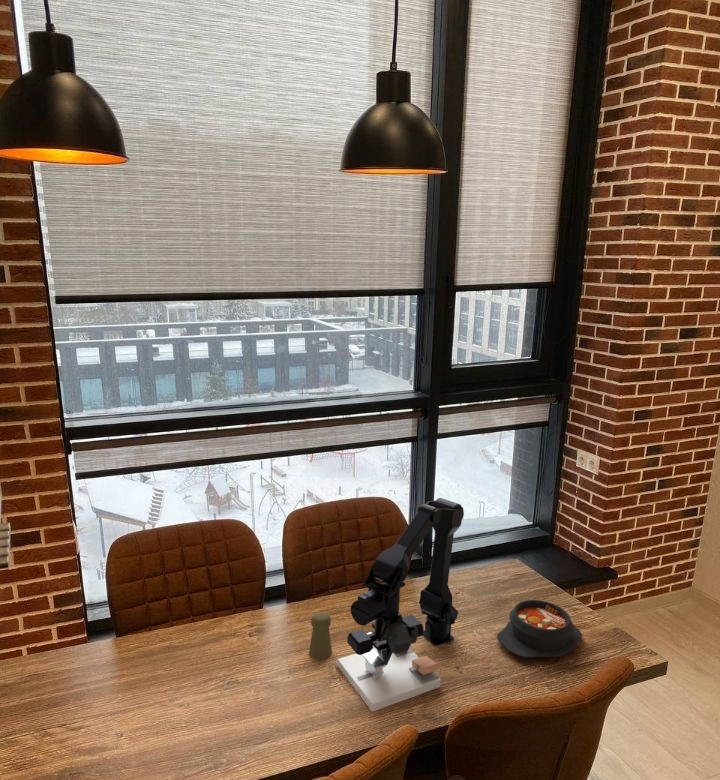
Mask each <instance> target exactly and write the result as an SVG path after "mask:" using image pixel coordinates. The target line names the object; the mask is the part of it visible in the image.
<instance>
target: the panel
mask: <svg viewBox="0 0 720 780" xmlns="http://www.w3.org/2000/svg"><path fill="white" fill-rule="evenodd" d="M371 651H374V652H375V653H376V654H377V655H378V656H379V654H378V651H377V649H376V648H375V647H373V649H372V650H371ZM371 651H370V652H371ZM379 658H380V657H379ZM417 658H420V657H419V656H418V655H417V654H416V653H415V652H414V651H413V649H412V648H411V647H410V648H409V650H407V651H406V652H404V653H392V655H391V657H390V660H389V662H388V664H387V665H386V667H383V673H382V677H381V678H378V679H374V678H373V676H372V675H371V674H370V673H369V672H368V670H367V669H366V668H365V658H364V657H363V654H362V655H358V654H356V653H353V654H350V655H346V656H343V657H340V658H337V667H338V669H339V670H340V672H341V673H342V674H343V676H344V677H345V678H346V679H347V681H349V683H350V684H351V686H352V687H353V688H354V690H355V691H356V693H357V694H358V695H359V697H361V699H362V700H363V702H364V703H365V704H366V705H367V707H368V708H369V710H370V711H371V712H372V713H373V712H376V711H378V710H381V709H384V708H386V707H389V706H392V705H394V704H397V703H400V702H403V701H406V700H408V699H410V698H413V697H417V696H419V695H422V694H425V693H427V692H430V691H432V690H436V689H438V688H441V681H442V680H441V678H440V675H439V674H438V673H436V671H433V672H430V673H427V674H424V675H423V674H422V673H420V672H419V671H418V670H416V669H415V668H413V667H412V660H414V659H417Z"/></svg>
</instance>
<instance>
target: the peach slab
mask: <svg viewBox="0 0 720 780" xmlns="http://www.w3.org/2000/svg"><path fill="white" fill-rule="evenodd" d="M412 667H413V668H415V669H416V670H418V671H419V672H420V673H422V674H423V675H424V674H427V673H430V672H433V671H434V672H436V671H437V670H438V663H437V662H436V661H434V660H432V659H431V658H430V657H428V656H426V655H424V656H420V657H419V658H417V659H414V660H412Z"/></svg>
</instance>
